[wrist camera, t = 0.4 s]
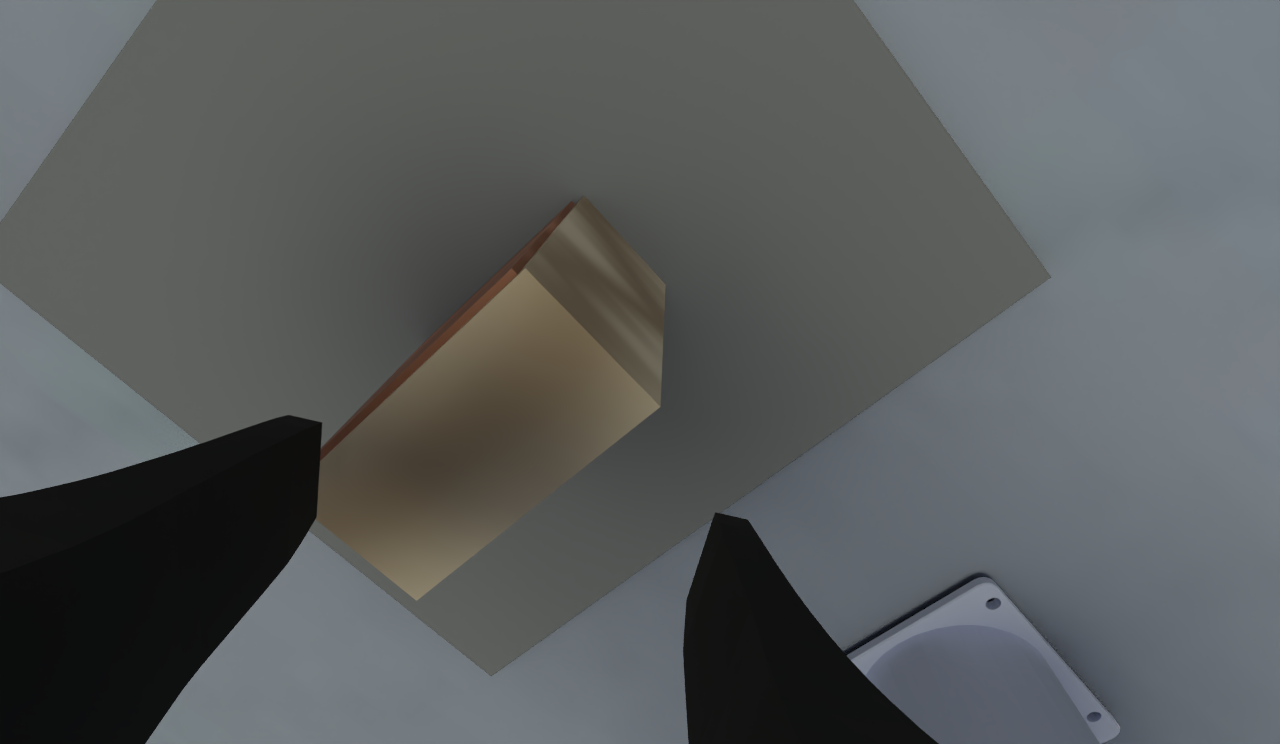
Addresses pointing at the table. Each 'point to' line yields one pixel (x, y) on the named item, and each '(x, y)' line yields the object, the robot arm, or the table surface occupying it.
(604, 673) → the table surface
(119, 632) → the robot arm
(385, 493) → the beech block
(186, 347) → the rubber mat
